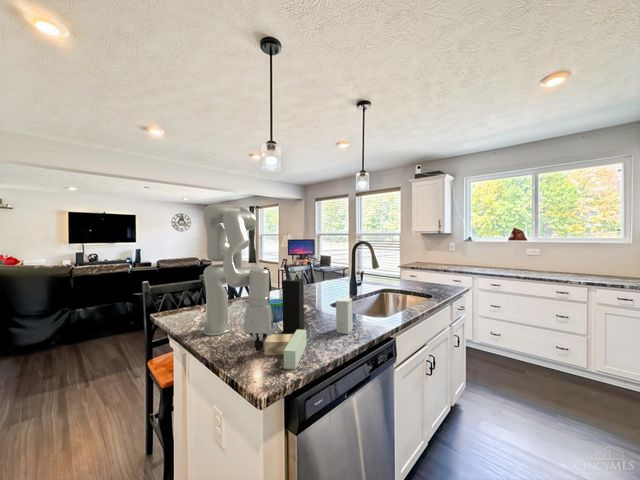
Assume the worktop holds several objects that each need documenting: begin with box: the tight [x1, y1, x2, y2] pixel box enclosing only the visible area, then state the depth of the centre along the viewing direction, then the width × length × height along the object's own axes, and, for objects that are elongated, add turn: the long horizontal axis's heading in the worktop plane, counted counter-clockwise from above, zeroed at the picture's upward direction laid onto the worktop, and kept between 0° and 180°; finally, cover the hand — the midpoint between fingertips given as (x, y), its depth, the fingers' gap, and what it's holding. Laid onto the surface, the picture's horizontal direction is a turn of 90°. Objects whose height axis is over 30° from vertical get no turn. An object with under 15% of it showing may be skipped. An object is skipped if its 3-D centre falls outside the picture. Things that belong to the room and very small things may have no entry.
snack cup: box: [269, 298, 283, 322], centre depth 144 cm, size 16×10×10 cm
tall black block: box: [281, 272, 305, 335], centre depth 122 cm, size 8×8×28 cm
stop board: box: [283, 329, 307, 370], centre depth 100 cm, size 4×21×6 cm, turn 173°
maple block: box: [264, 333, 293, 356], centre depth 104 cm, size 10×8×5 cm
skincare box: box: [335, 297, 354, 335], centre depth 125 cm, size 8×6×15 cm
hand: (259, 349), depth 102 cm, fingers closed
